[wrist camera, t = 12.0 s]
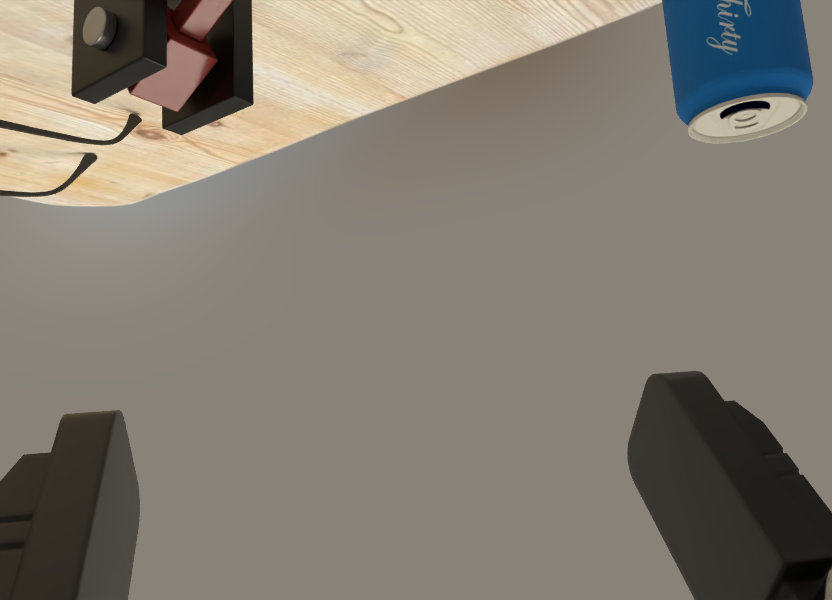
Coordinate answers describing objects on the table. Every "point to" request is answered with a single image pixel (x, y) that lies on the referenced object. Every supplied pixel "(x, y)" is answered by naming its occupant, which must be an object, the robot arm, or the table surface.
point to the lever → (183, 54)
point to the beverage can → (738, 66)
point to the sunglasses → (87, 158)
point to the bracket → (160, 57)
